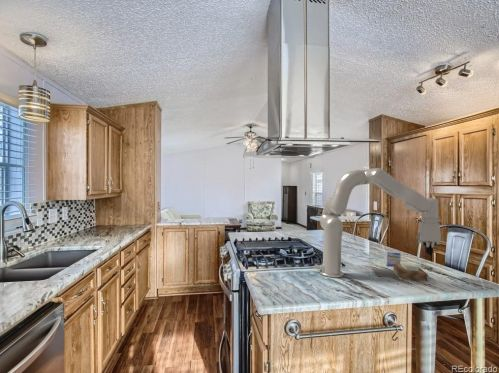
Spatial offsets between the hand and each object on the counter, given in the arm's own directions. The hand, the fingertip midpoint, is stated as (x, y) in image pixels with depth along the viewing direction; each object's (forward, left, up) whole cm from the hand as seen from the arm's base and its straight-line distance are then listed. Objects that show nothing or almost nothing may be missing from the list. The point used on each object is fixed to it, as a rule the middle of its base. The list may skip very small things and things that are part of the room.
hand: (429, 254), depth 149 cm
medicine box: (-13, +18, -13) cm, 26 cm away
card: (-9, 0, -9) cm, 13 cm away
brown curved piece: (-9, 0, -13) cm, 16 cm away
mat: (-22, 0, -13) cm, 25 cm away
